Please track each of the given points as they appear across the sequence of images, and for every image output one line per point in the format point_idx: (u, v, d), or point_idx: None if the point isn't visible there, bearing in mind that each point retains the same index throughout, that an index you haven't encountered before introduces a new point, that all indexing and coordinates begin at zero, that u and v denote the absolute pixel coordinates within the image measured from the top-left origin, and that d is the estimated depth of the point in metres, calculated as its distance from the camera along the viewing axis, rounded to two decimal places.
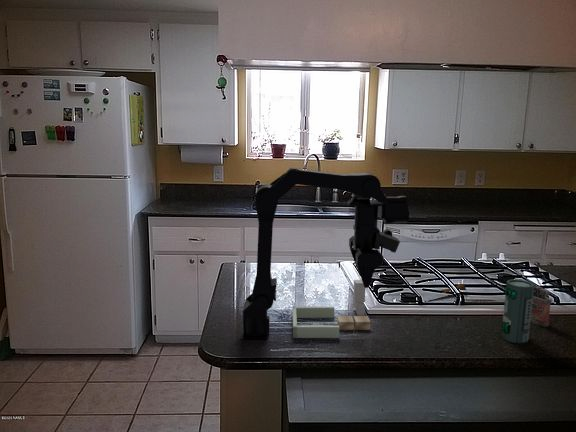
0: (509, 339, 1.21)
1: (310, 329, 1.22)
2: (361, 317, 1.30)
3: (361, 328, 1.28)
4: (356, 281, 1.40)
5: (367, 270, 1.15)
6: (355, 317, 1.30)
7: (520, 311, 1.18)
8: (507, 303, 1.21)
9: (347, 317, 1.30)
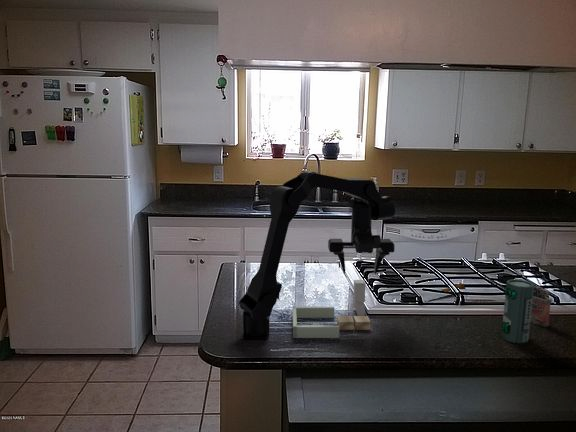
0: (509, 339, 1.21)
1: (310, 329, 1.22)
2: (361, 317, 1.30)
3: (361, 328, 1.28)
4: (356, 281, 1.40)
5: None
6: (355, 317, 1.30)
7: (520, 311, 1.18)
8: (507, 303, 1.21)
9: (347, 317, 1.30)
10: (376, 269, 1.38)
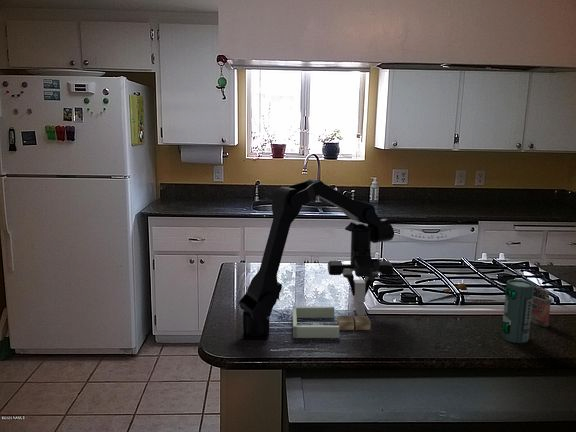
0: (509, 339, 1.21)
1: (310, 329, 1.22)
2: (361, 317, 1.30)
3: (361, 328, 1.28)
4: (356, 281, 1.40)
5: None
6: (355, 317, 1.30)
7: (520, 311, 1.18)
8: (507, 303, 1.21)
9: (347, 317, 1.30)
10: (365, 291, 1.39)
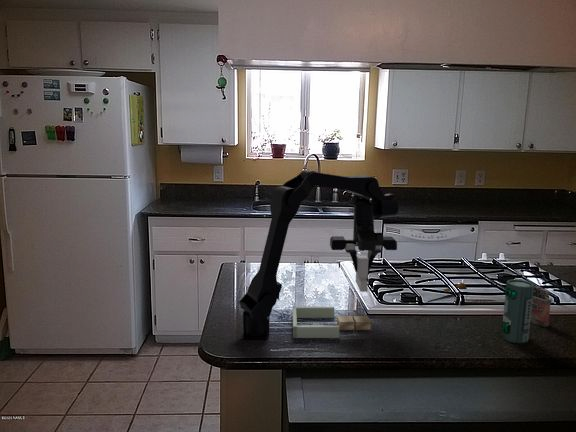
0: (509, 339, 1.21)
1: (310, 329, 1.22)
2: (361, 317, 1.30)
3: (361, 328, 1.28)
4: (359, 257, 1.37)
5: None
6: (355, 317, 1.30)
7: (520, 311, 1.18)
8: (507, 303, 1.21)
9: (347, 317, 1.30)
10: (368, 267, 1.37)
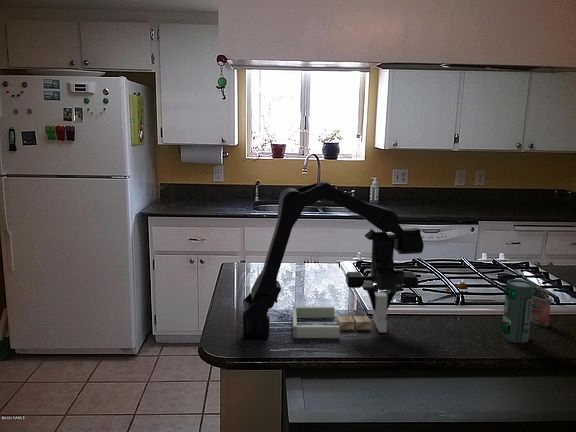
0: (509, 339, 1.21)
1: (310, 329, 1.22)
2: (361, 317, 1.30)
3: (362, 328, 1.28)
4: (377, 294, 1.28)
5: None
6: (355, 317, 1.30)
7: (520, 311, 1.18)
8: (507, 303, 1.21)
9: (346, 317, 1.30)
10: (387, 305, 1.28)
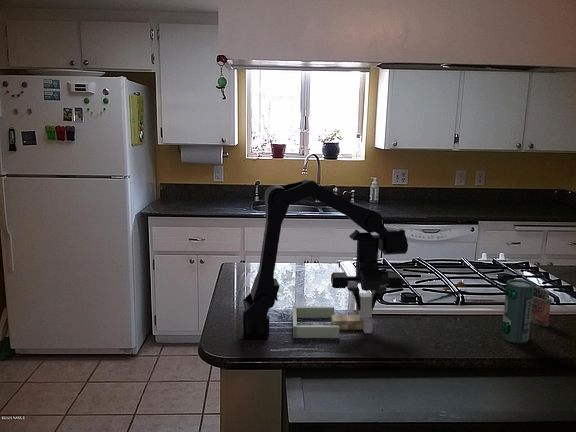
0: (509, 339, 1.21)
1: (310, 329, 1.22)
2: (353, 316, 1.30)
3: (353, 327, 1.28)
4: (361, 295, 1.28)
5: None
6: (347, 316, 1.30)
7: (520, 311, 1.18)
8: (507, 303, 1.21)
9: (341, 316, 1.30)
10: (372, 306, 1.28)
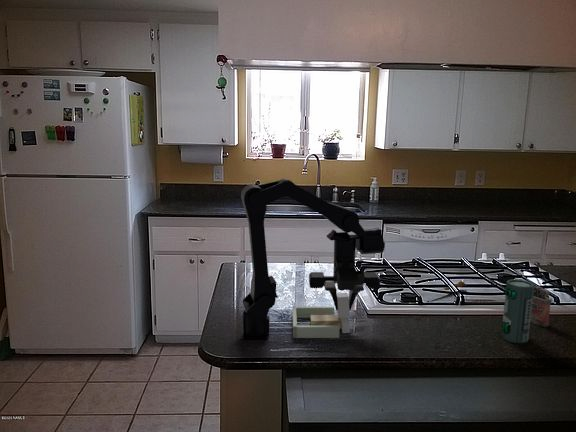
0: (509, 339, 1.21)
1: (310, 329, 1.22)
2: (332, 316, 1.30)
3: None
4: (338, 295, 1.28)
5: None
6: (326, 316, 1.30)
7: (520, 311, 1.18)
8: (507, 303, 1.21)
9: (320, 316, 1.30)
10: (350, 305, 1.27)
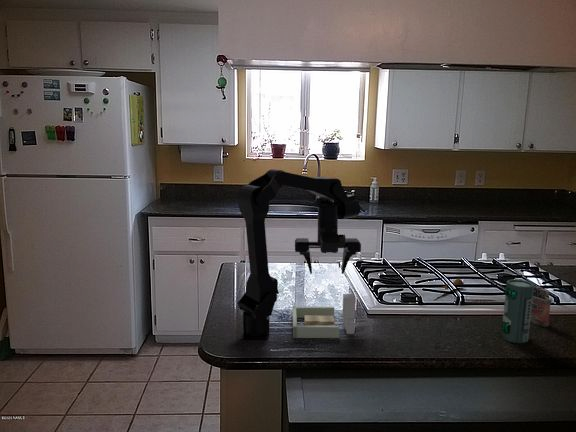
0: (509, 339, 1.21)
1: (310, 329, 1.22)
2: (326, 317, 1.30)
3: None
4: (345, 295, 1.28)
5: None
6: (320, 317, 1.30)
7: (520, 311, 1.18)
8: (507, 303, 1.21)
9: (313, 317, 1.30)
10: (343, 269, 1.36)
